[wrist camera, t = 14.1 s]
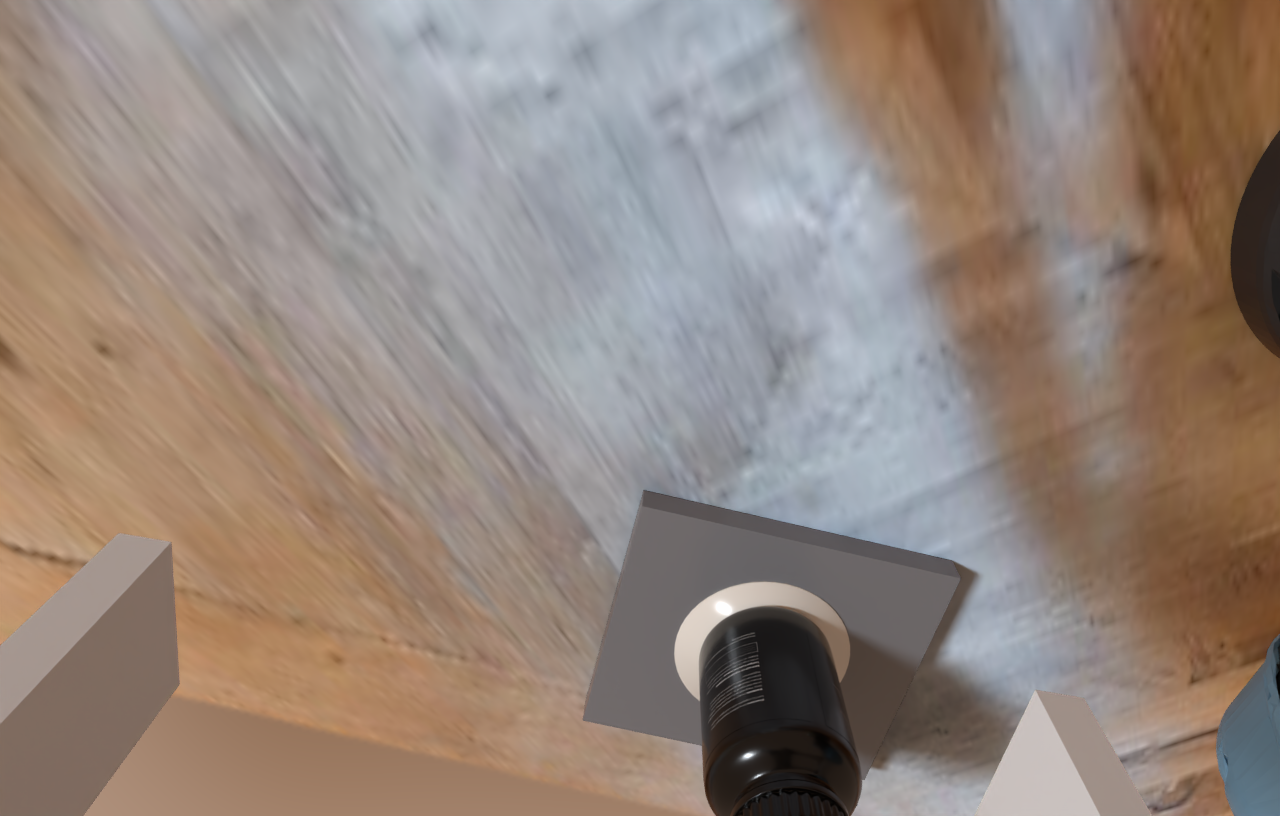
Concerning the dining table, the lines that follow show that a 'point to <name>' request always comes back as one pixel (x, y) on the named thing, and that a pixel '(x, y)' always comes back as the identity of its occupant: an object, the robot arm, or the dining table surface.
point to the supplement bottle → (774, 719)
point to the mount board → (752, 577)
